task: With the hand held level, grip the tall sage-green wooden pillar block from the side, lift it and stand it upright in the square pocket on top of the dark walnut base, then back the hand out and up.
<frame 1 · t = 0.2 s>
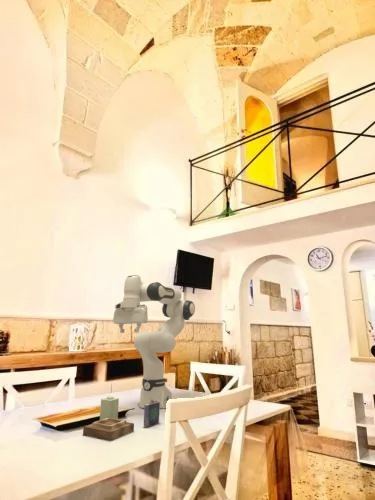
hand: (129, 332, 166), 39 cm above the table, tool pointing down, fingers open, 8 cm apart
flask: (151, 425, 142), on the table
pillar: (108, 423, 144), on the table
base: (108, 433, 130), on the table
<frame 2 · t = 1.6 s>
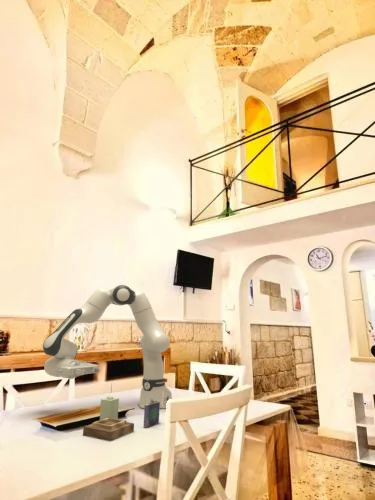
hand: (92, 371, 155), 21 cm above the table, tool horizontal, fingers open, 8 cm apart
nothing on the table moved.
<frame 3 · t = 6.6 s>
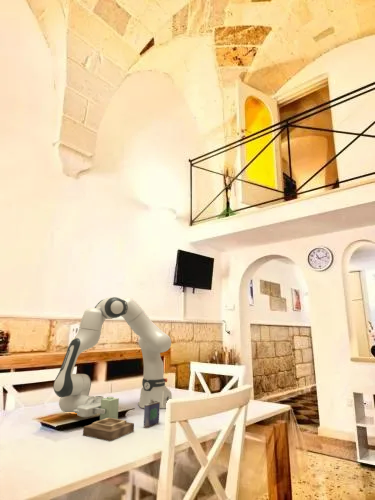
hand: (110, 409, 145), 6 cm above the table, tool horizontal, fingers closed on pillar, 5 cm apart
pillar: (108, 423, 144), on the table, touching gripper
everything else where it was.
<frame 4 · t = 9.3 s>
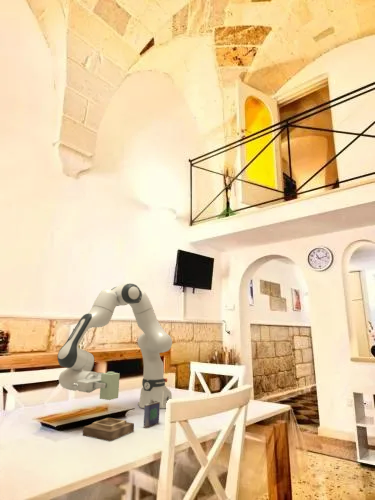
hand: (111, 384, 141), 17 cm above the table, tool horizontal, fingers closed on pillar, 5 cm apart
pillar: (108, 398, 140), point 12 cm above the table, touching gripper
everything else where it was.
when the fingers open (9 cm above the table, at t = 11.6 s): pillar stays where it is, resting on base.
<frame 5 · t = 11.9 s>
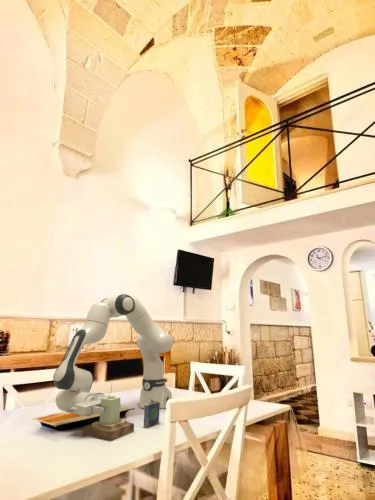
hand: (112, 407, 132), 9 cm above the table, tool horizontal, fingers open, 8 cm apart
pillar: (109, 424, 131), point 3 cm above the table, touching base
everything else where it was.
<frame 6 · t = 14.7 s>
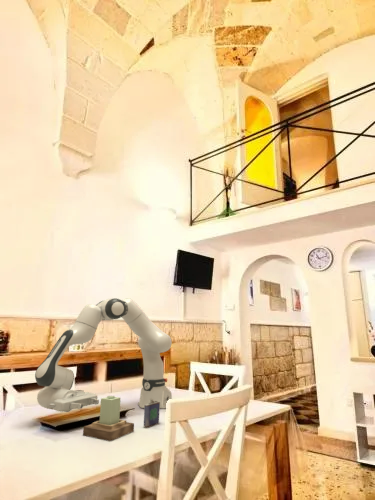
hand: (89, 404, 138), 10 cm above the table, tool horizontal, fingers open, 8 cm apart
nothing on the table moved.
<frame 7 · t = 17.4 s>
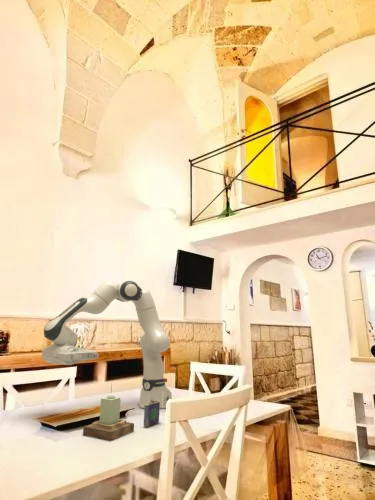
hand: (90, 356, 151), 28 cm above the table, tool horizontal, fingers open, 8 cm apart
nothing on the table moved.
at the end: pillar 0.1 cm off-centre on the base, point 3.0 cm above the base's base; pillar tilted 0°; the gripper is holding nothing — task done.
